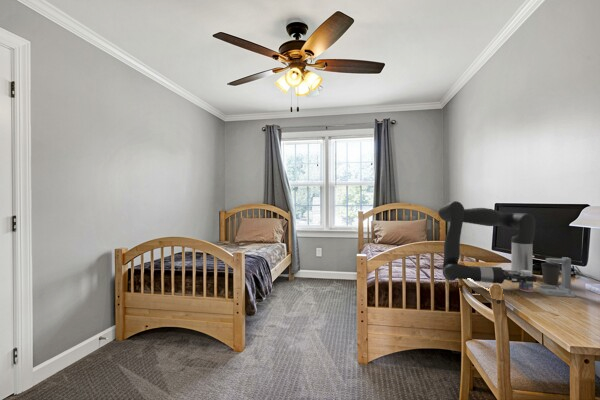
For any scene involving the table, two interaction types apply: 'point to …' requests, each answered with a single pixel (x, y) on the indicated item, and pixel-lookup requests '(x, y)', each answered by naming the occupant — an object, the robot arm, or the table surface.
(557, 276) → the coffee cup
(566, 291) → the stand
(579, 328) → the table surface
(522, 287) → the pill bottle
